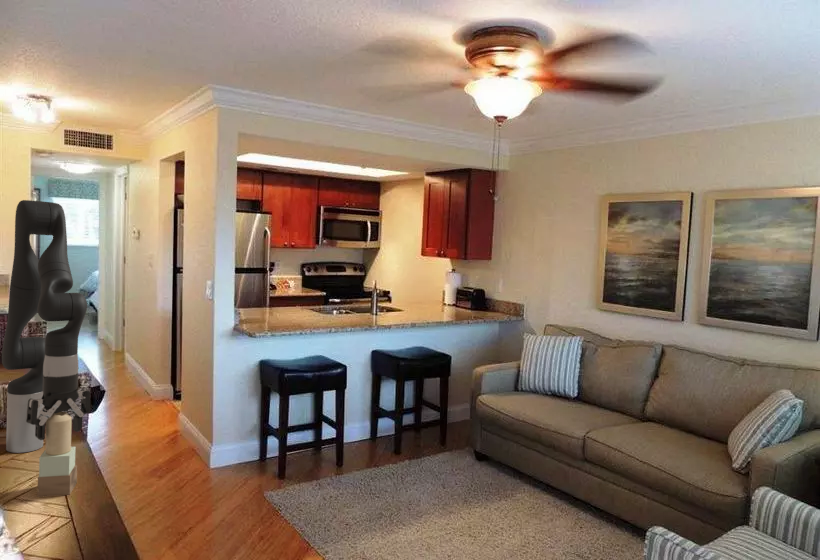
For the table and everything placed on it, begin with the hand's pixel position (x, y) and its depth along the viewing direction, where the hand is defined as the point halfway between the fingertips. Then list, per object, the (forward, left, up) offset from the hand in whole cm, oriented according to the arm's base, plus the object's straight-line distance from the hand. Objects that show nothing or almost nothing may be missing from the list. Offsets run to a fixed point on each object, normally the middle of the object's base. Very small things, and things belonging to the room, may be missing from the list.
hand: (59, 435), depth 144 cm
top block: (0, 0, -9) cm, 9 cm away
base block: (0, 0, -14) cm, 14 cm away
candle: (0, 0, -4) cm, 4 cm away
